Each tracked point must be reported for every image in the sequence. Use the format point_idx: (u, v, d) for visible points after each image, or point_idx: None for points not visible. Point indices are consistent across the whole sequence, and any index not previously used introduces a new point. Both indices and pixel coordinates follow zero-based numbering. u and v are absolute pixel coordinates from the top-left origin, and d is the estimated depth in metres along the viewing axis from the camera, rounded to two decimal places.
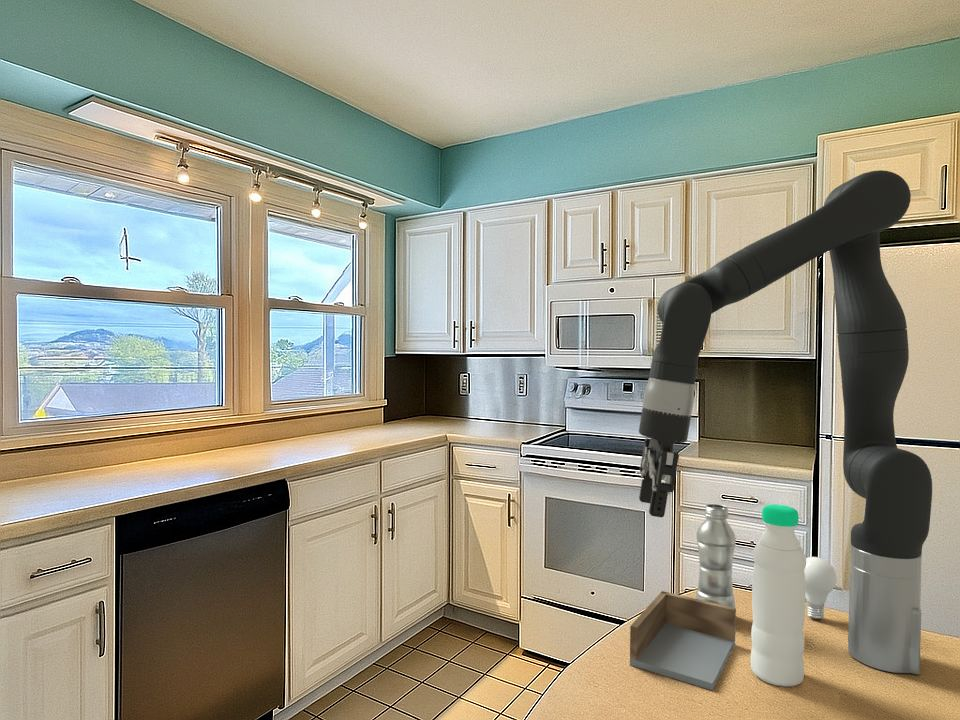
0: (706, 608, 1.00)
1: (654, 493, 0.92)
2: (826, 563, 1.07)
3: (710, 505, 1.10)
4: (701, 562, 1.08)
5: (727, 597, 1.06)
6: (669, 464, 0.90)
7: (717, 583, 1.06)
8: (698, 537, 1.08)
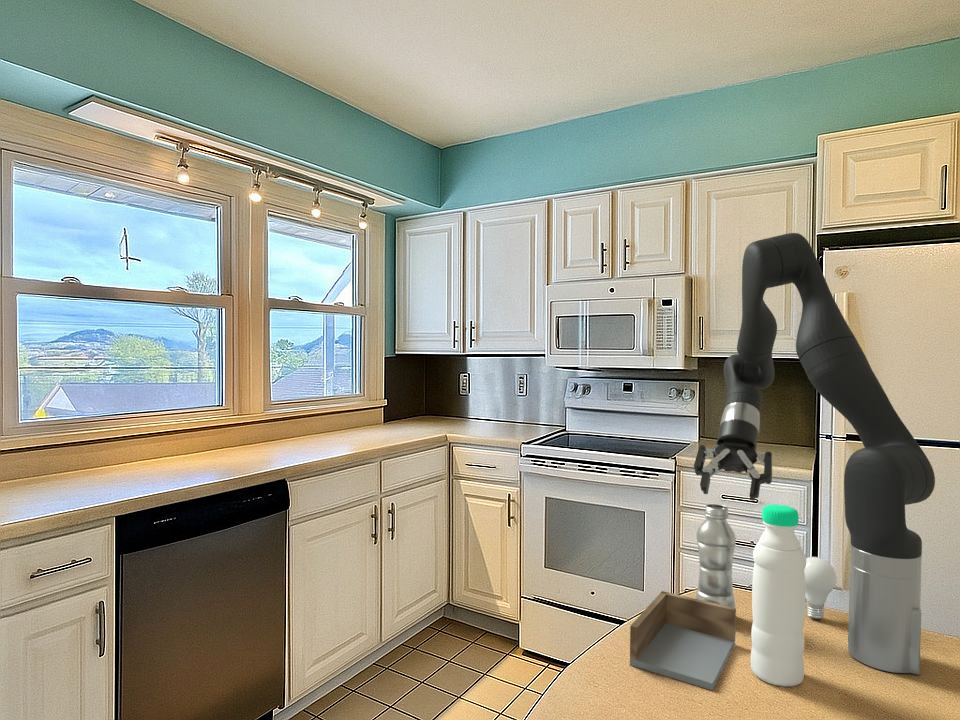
0: (706, 608, 1.00)
1: None
2: (826, 563, 1.07)
3: (710, 505, 1.10)
4: (701, 562, 1.08)
5: (727, 597, 1.06)
6: None
7: (717, 583, 1.06)
8: (698, 537, 1.08)
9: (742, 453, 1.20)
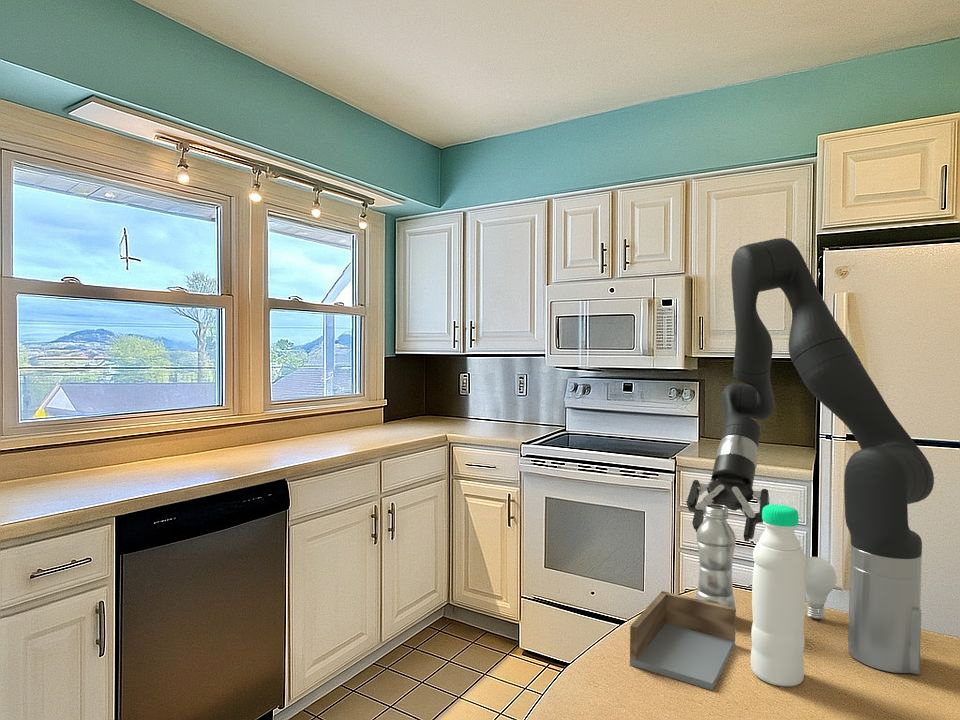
0: (706, 608, 1.00)
1: None
2: (826, 563, 1.07)
3: (710, 505, 1.10)
4: (701, 562, 1.08)
5: (727, 597, 1.06)
6: None
7: (717, 583, 1.06)
8: (698, 537, 1.08)
9: (737, 490, 1.14)
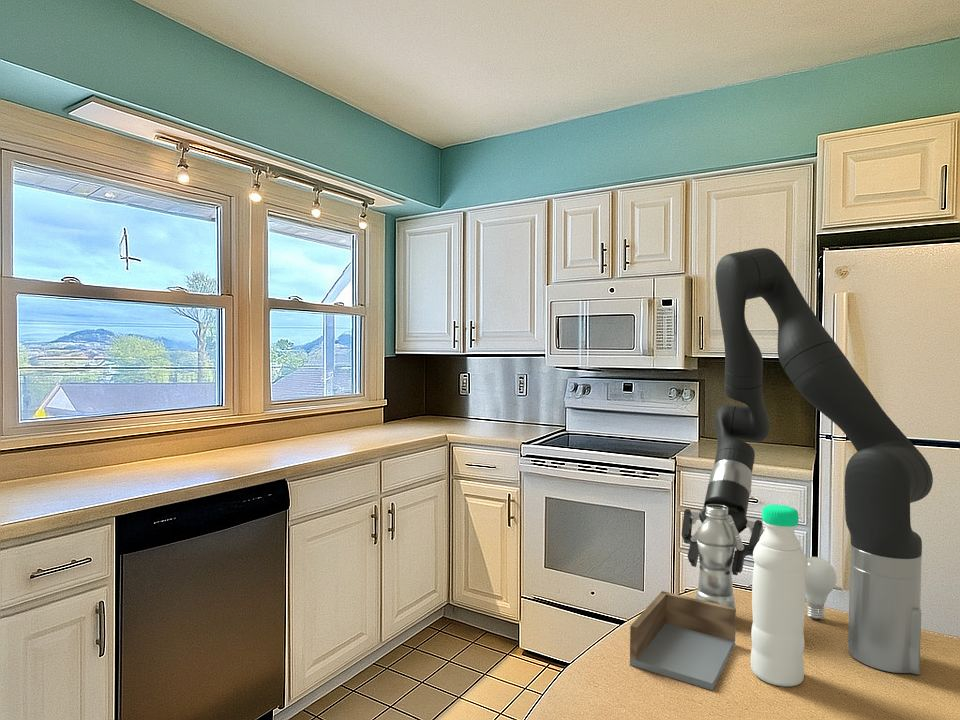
0: (706, 608, 1.00)
1: None
2: (826, 563, 1.07)
3: (710, 505, 1.10)
4: (701, 562, 1.08)
5: (727, 597, 1.06)
6: None
7: (717, 583, 1.06)
8: (698, 537, 1.08)
9: (730, 519, 1.10)
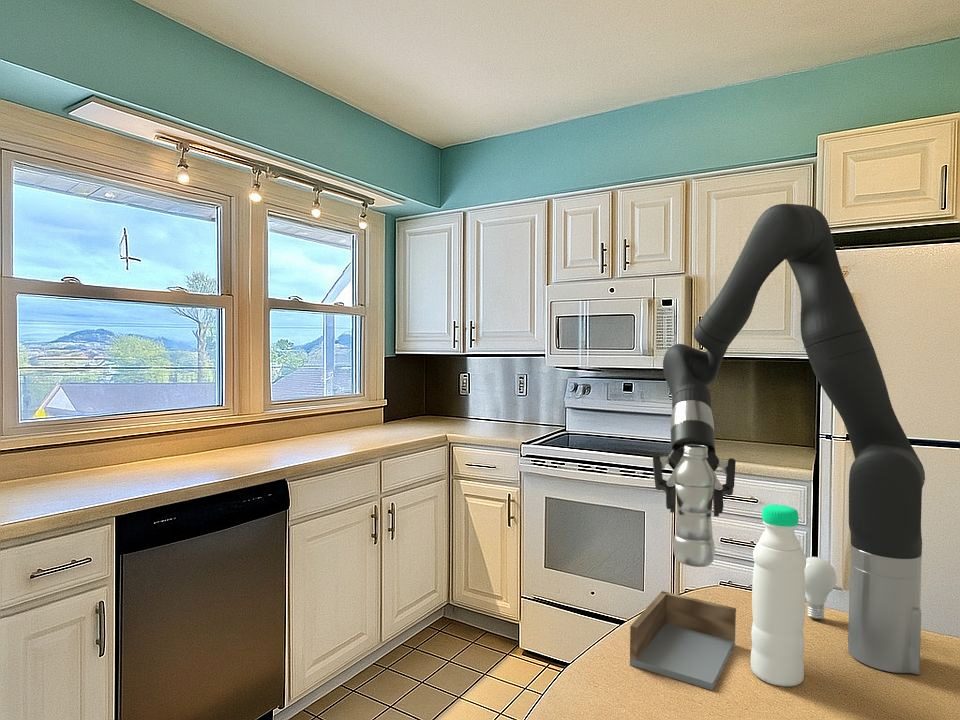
0: (706, 608, 1.00)
1: None
2: (826, 563, 1.07)
3: (687, 446, 1.03)
4: (682, 506, 1.00)
5: (709, 540, 1.00)
6: (654, 466, 1.07)
7: (700, 527, 0.99)
8: (679, 480, 1.00)
9: None
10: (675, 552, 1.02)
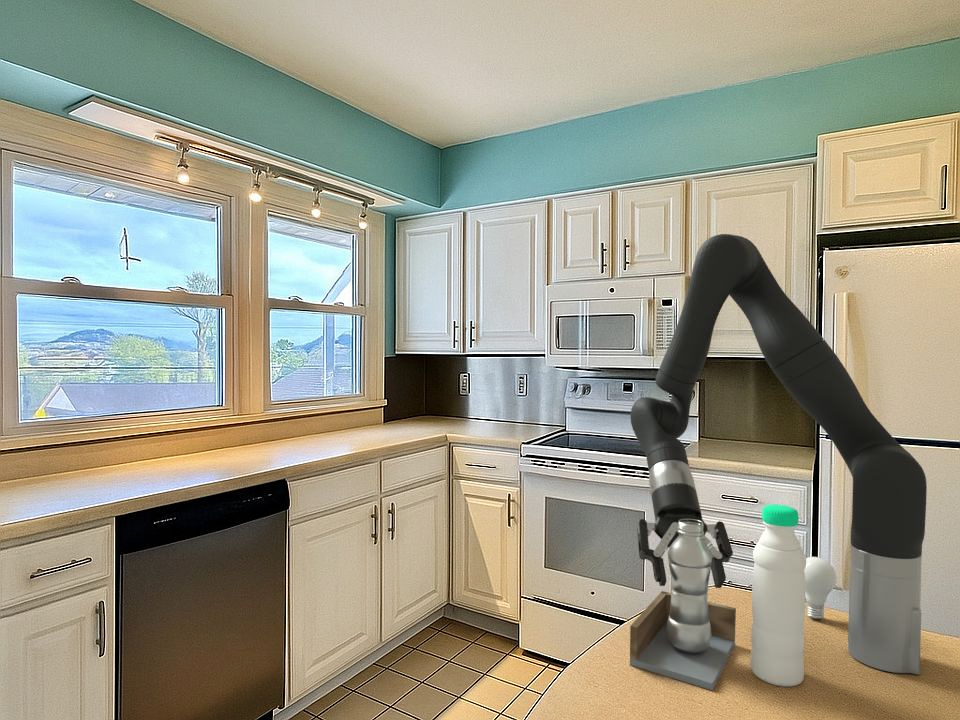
0: None
1: None
2: (826, 563, 1.07)
3: (680, 521, 0.96)
4: (679, 588, 0.93)
5: (706, 623, 0.93)
6: (639, 532, 1.00)
7: (699, 610, 0.92)
8: (676, 560, 0.93)
9: None
10: (671, 637, 0.94)
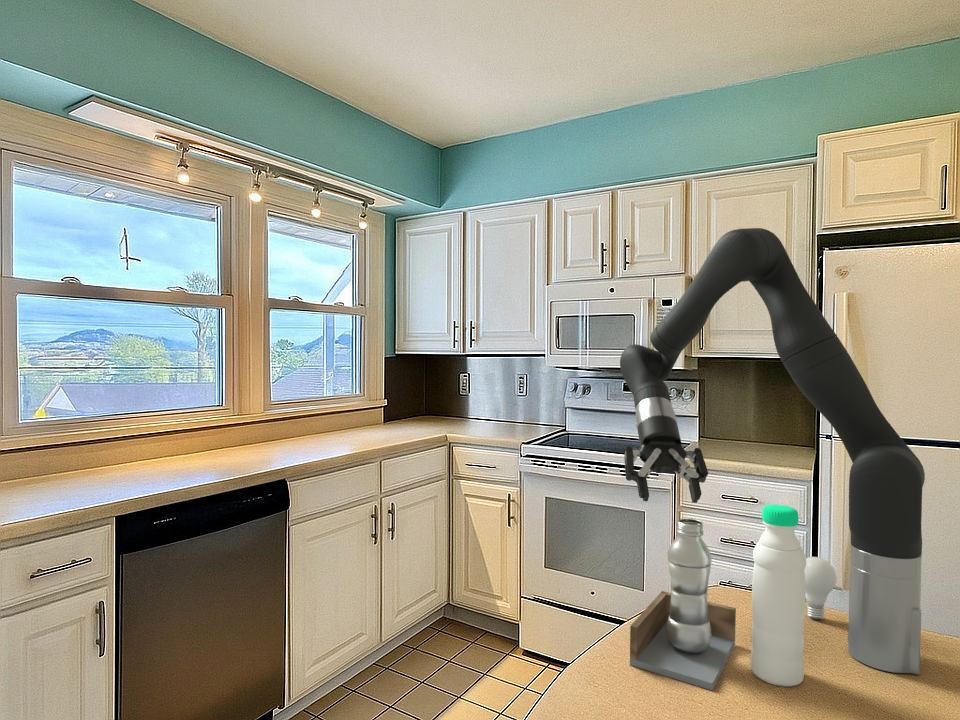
0: None
1: None
2: (826, 563, 1.07)
3: (679, 521, 0.96)
4: (679, 588, 0.93)
5: (706, 623, 0.93)
6: (626, 457, 1.12)
7: (698, 610, 0.92)
8: (676, 560, 0.93)
9: (674, 452, 1.11)
10: (671, 637, 0.94)
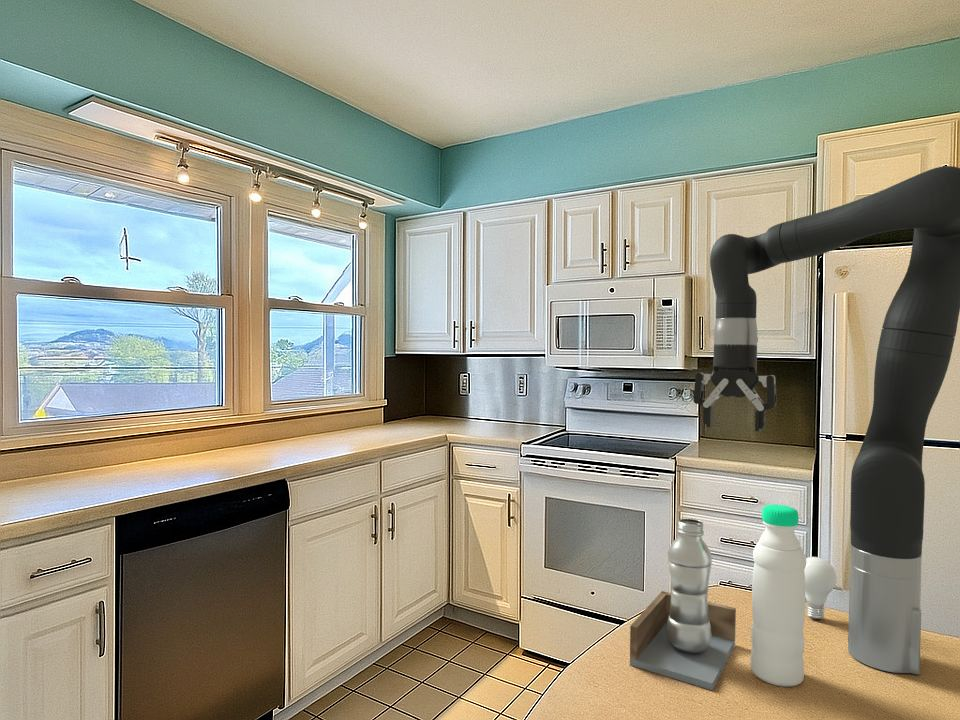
0: None
1: None
2: (826, 563, 1.07)
3: (680, 520, 0.96)
4: (679, 588, 0.93)
5: (706, 623, 0.93)
6: None
7: (699, 610, 0.93)
8: (676, 560, 0.93)
9: (742, 383, 1.11)
10: (671, 637, 0.94)
